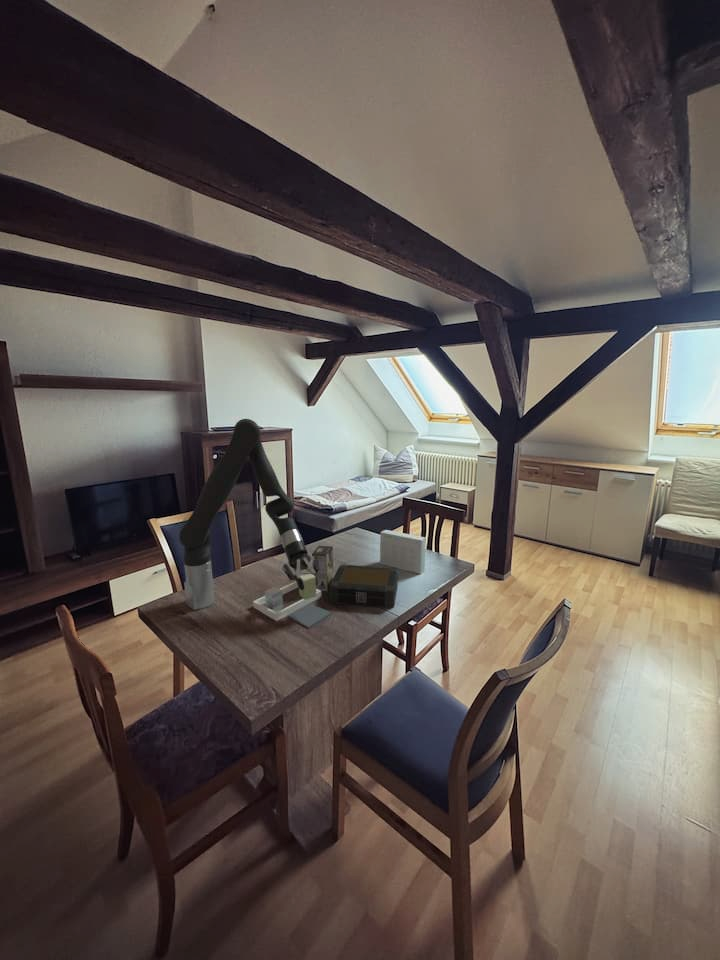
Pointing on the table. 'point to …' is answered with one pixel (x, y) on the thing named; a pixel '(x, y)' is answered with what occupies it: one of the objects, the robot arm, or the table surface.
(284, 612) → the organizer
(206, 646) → the table surface
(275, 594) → the grey tin
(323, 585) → the coffee box
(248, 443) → the robot arm
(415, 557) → the skincare box
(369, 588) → the cash box
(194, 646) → the table surface
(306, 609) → the charcoal mat
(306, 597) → the olive tin
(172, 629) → the table surface
